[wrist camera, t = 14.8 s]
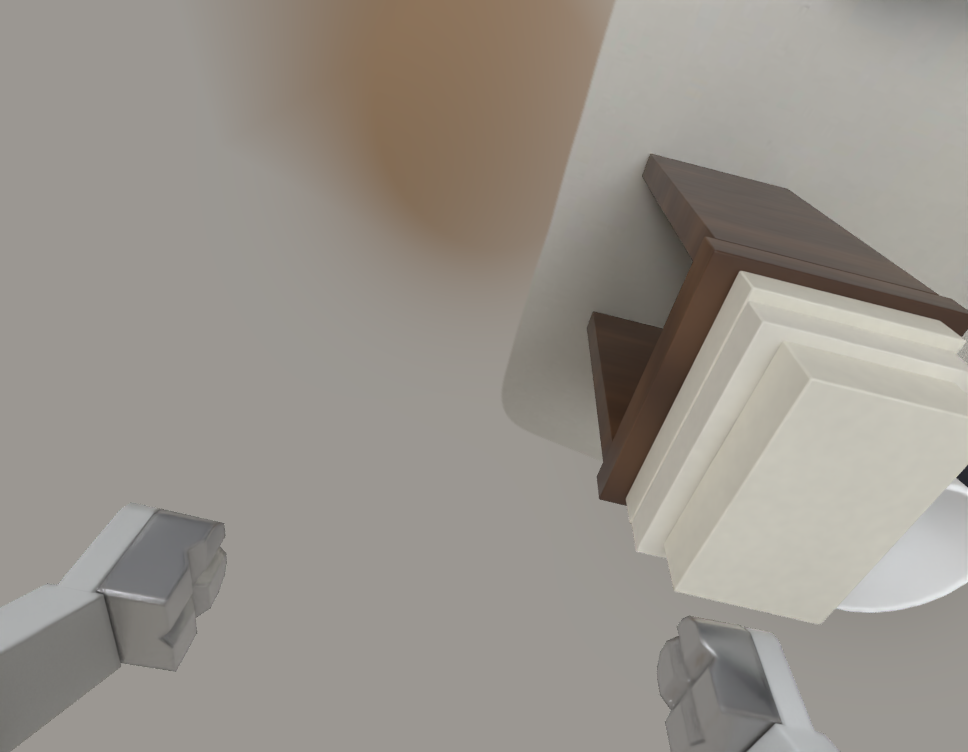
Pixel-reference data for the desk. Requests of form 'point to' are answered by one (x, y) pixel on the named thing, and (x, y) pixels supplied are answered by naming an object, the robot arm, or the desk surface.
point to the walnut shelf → (716, 263)
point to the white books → (741, 364)
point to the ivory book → (817, 483)
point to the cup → (920, 560)
